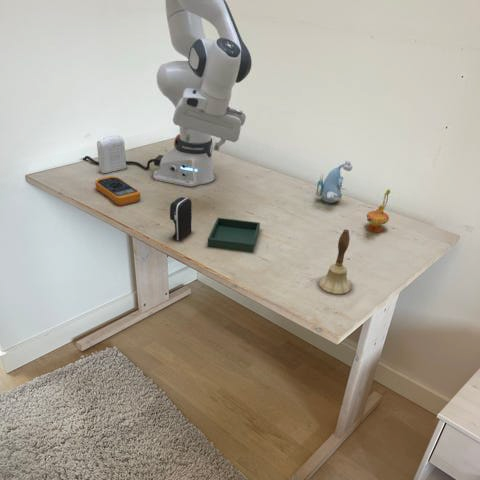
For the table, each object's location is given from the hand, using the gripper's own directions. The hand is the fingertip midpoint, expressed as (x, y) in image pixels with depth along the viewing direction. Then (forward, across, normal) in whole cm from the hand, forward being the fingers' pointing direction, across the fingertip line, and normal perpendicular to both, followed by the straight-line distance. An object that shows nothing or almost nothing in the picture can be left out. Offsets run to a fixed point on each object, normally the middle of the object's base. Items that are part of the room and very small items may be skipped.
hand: (201, 145), depth 152 cm
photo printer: (+32, +27, -24) cm, 49 cm away
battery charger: (+17, +1, +24) cm, 30 cm away
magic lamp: (+4, -58, +15) cm, 60 cm away
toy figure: (+10, -49, -5) cm, 50 cm away
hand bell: (+3, -40, +48) cm, 62 cm away
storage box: (+13, -15, +24) cm, 31 cm away
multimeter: (+27, +22, -2) cm, 35 cm away
